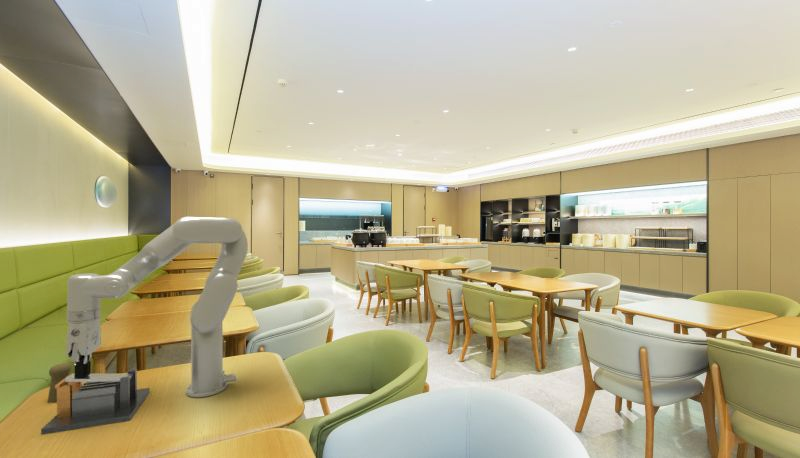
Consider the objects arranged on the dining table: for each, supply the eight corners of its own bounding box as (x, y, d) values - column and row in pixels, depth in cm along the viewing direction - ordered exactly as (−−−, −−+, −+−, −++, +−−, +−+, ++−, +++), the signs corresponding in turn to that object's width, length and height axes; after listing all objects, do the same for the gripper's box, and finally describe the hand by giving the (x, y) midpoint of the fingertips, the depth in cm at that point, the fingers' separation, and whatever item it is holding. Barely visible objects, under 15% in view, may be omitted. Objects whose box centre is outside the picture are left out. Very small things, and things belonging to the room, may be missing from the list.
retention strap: (133, 376, 112) (133, 372, 112) (128, 382, 108) (128, 378, 108) (71, 376, 106) (72, 372, 106) (64, 382, 103) (65, 378, 103)
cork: (57, 403, 112) (56, 369, 111) (42, 401, 113) (41, 367, 112) (78, 394, 117) (77, 362, 117) (63, 392, 119) (63, 360, 118)
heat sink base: (149, 392, 119) (149, 360, 119) (129, 420, 102) (129, 383, 102) (75, 402, 112) (75, 368, 112) (41, 434, 96) (40, 394, 95)
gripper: (87, 321, 100) (85, 385, 100) (110, 308, 114) (108, 365, 114) (53, 322, 97) (51, 388, 97) (81, 310, 111) (79, 367, 111)
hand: (82, 375), depth 106 cm, fingers closed
